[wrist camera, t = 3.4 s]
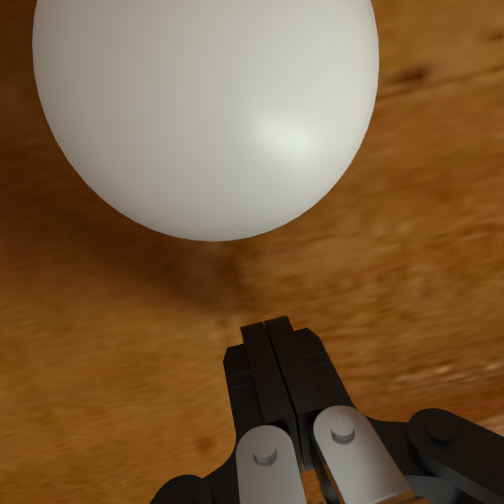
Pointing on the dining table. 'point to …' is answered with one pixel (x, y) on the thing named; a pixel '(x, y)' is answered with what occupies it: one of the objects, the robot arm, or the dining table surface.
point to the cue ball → (207, 105)
